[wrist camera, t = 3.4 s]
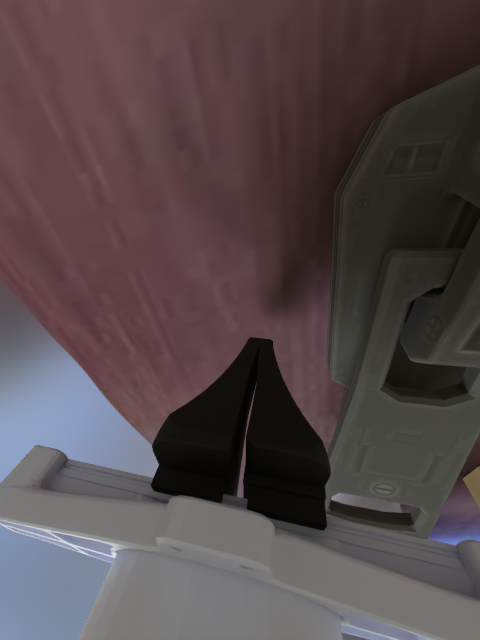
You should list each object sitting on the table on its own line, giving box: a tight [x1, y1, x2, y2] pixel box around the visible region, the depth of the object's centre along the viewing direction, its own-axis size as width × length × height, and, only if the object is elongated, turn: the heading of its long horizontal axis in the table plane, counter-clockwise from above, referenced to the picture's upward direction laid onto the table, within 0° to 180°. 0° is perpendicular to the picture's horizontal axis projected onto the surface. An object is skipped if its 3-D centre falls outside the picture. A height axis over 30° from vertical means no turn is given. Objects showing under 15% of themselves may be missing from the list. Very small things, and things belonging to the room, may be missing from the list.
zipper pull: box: [325, 64, 480, 539], centre depth 12 cm, size 9×7×25 cm
